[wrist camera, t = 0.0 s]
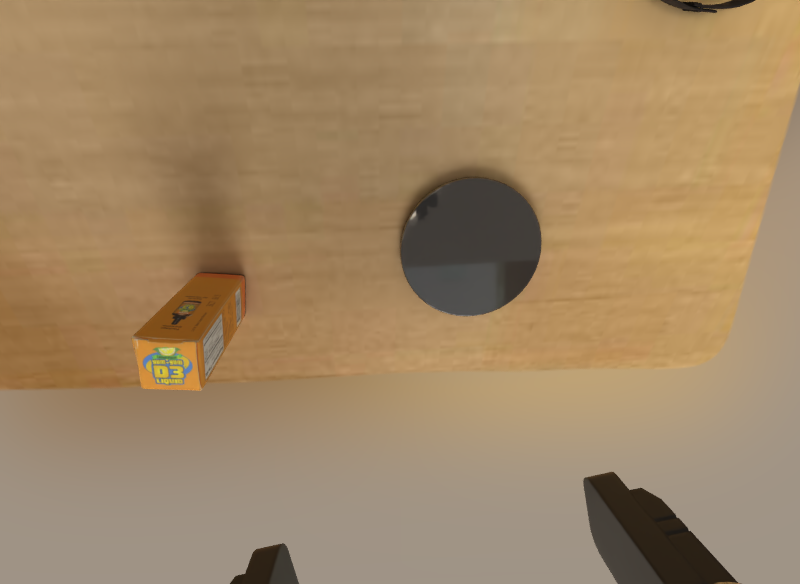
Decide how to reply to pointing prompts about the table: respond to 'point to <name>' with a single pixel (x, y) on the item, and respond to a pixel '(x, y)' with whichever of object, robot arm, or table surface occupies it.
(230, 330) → the supplement box
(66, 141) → the table surface
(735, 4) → the watch
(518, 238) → the coaster
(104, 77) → the table surface
